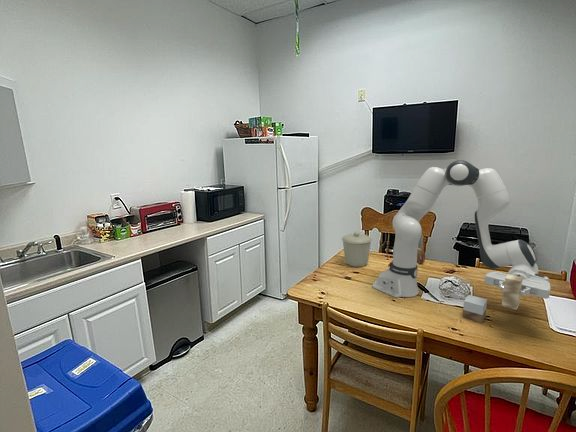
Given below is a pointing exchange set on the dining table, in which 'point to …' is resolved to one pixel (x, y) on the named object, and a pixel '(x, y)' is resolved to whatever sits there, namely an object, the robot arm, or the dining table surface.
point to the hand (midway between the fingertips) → (511, 291)
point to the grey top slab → (475, 304)
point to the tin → (420, 256)
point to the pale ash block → (512, 291)
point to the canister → (356, 249)
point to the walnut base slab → (473, 316)
